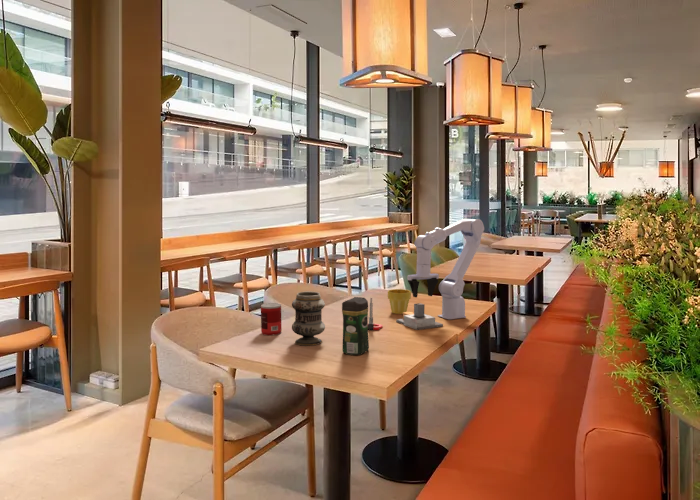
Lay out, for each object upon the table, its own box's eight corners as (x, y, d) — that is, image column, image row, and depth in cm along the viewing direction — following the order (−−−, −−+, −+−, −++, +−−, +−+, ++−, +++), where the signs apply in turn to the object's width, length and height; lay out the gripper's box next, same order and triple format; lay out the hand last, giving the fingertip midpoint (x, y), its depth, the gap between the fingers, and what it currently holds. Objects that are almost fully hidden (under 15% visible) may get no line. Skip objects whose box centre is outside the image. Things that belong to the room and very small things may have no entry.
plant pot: (411, 314, 251) (411, 293, 250) (388, 315, 251) (388, 293, 250) (409, 310, 261) (409, 288, 260) (387, 310, 261) (387, 289, 260)
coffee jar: (351, 347, 200) (350, 294, 198) (371, 349, 197) (371, 296, 195) (338, 354, 191) (338, 299, 189) (360, 357, 188) (359, 301, 186)
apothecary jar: (312, 348, 198) (311, 297, 196) (285, 343, 205) (284, 294, 203) (331, 340, 208) (331, 292, 207) (305, 336, 215) (304, 289, 213)
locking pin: (420, 322, 232) (420, 303, 231) (424, 324, 230) (424, 304, 229) (413, 323, 231) (414, 303, 230) (418, 324, 228) (418, 305, 227)
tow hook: (362, 325, 233) (359, 330, 224) (363, 294, 232) (360, 297, 223) (383, 326, 232) (381, 331, 223) (383, 295, 231) (381, 298, 222)
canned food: (284, 331, 223) (284, 303, 222) (275, 336, 216) (275, 307, 215) (267, 329, 226) (266, 302, 225) (257, 334, 218) (257, 306, 217)
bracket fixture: (420, 318, 243) (420, 309, 243) (442, 326, 229) (443, 316, 229) (395, 321, 238) (395, 312, 237) (417, 330, 224) (417, 320, 223)
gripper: (432, 262, 244) (431, 293, 245) (403, 263, 237) (402, 296, 238) (442, 264, 238) (441, 296, 239) (413, 265, 231) (412, 298, 232)
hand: (422, 296), depth 238 cm, fingers open, 7 cm apart
